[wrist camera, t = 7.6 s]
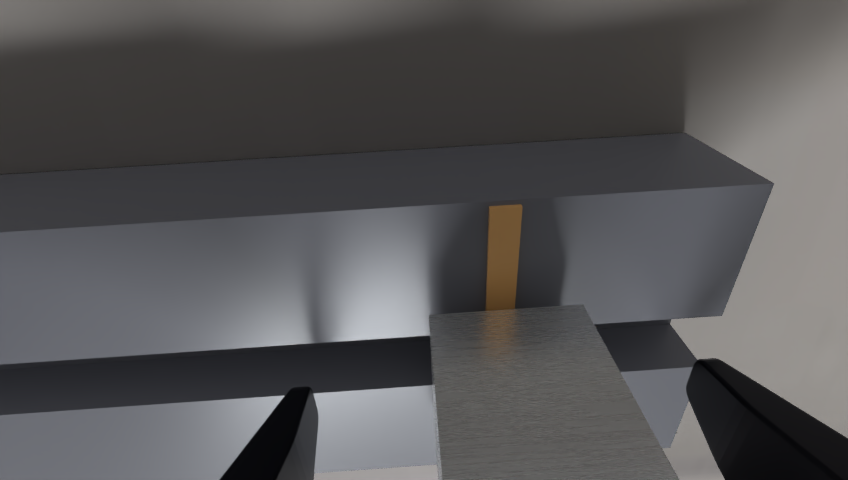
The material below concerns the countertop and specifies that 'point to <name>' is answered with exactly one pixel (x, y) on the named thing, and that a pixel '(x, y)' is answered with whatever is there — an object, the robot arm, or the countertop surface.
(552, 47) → the countertop surface
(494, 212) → the fader console
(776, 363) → the countertop surface
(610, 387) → the fader tab
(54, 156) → the countertop surface
